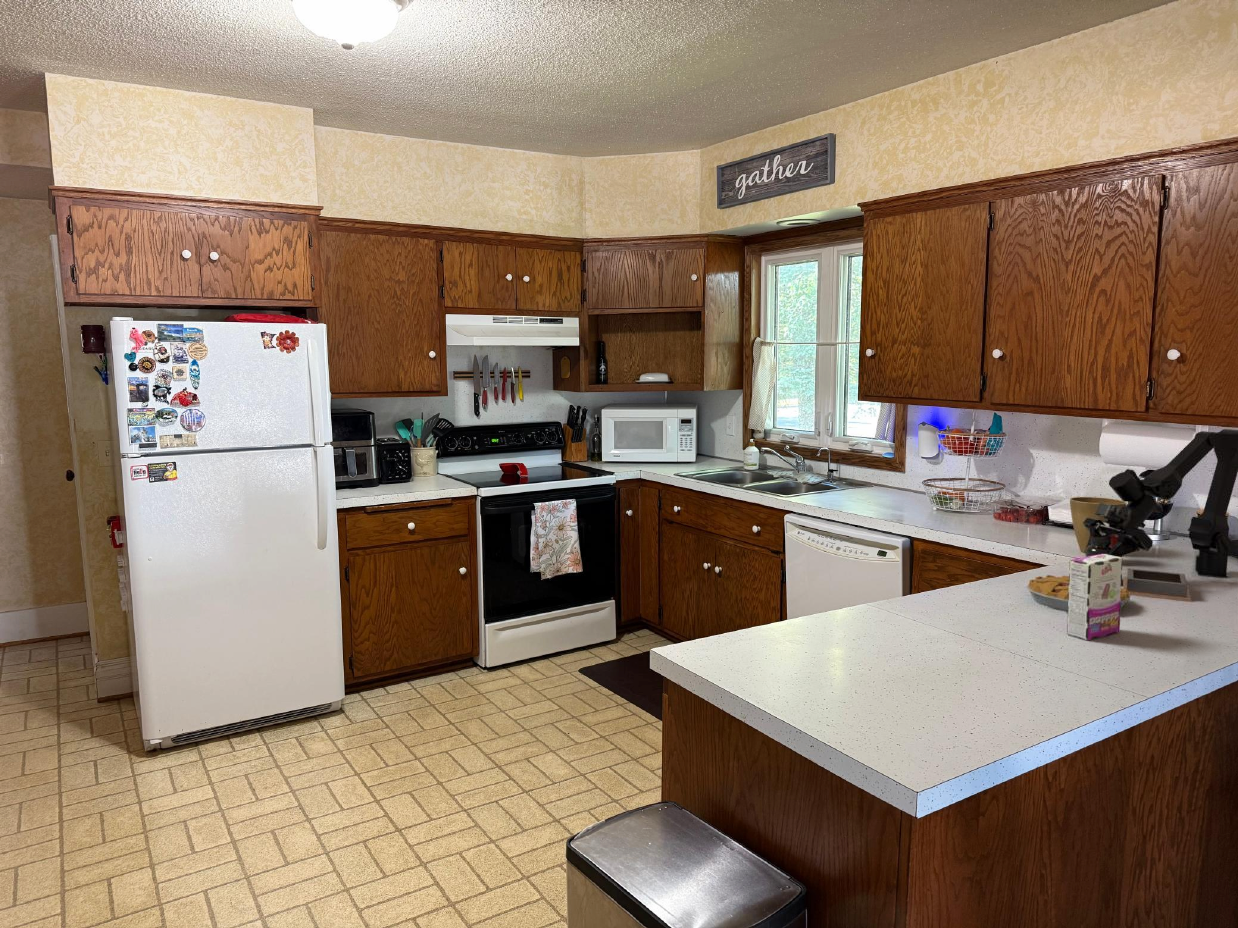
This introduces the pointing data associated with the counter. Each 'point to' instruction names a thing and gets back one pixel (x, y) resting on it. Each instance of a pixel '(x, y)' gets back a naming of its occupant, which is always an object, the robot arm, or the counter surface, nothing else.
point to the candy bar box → (1094, 596)
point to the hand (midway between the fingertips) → (1095, 556)
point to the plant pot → (1087, 515)
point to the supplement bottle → (1099, 545)
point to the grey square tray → (1157, 584)
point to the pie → (1058, 592)
